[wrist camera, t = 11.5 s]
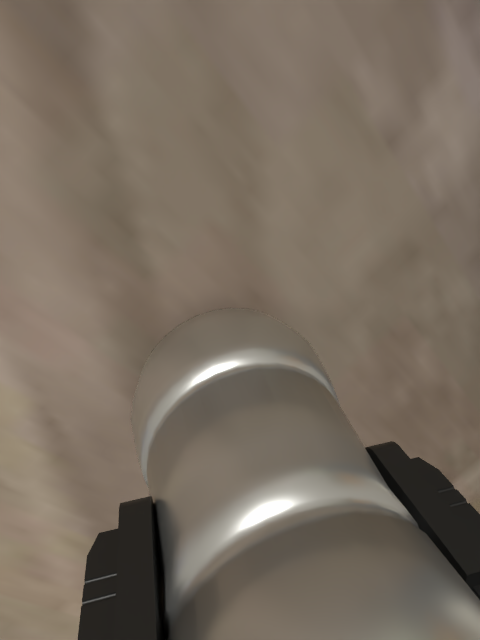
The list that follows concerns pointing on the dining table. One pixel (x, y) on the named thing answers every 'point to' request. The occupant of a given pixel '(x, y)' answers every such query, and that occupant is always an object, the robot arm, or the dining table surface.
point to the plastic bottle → (277, 499)
